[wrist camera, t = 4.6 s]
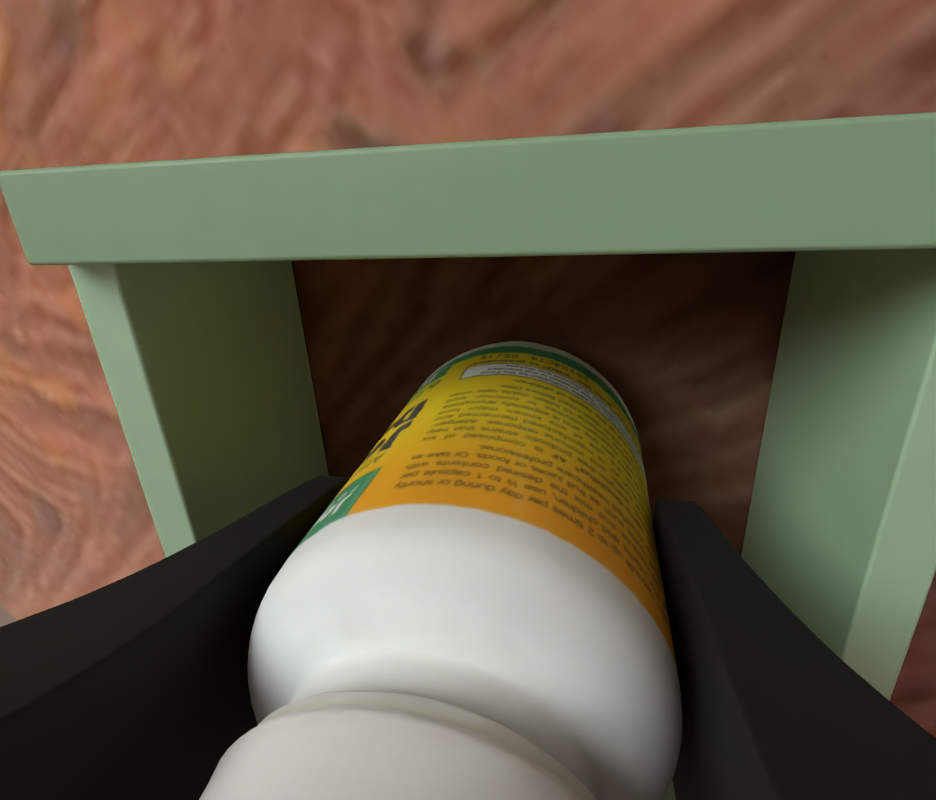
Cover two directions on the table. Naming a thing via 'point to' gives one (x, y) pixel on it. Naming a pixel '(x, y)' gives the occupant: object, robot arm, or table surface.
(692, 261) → the table surface
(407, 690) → the supplement bottle
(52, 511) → the table surface
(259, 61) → the table surface
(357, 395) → the table surface
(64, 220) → the tub
